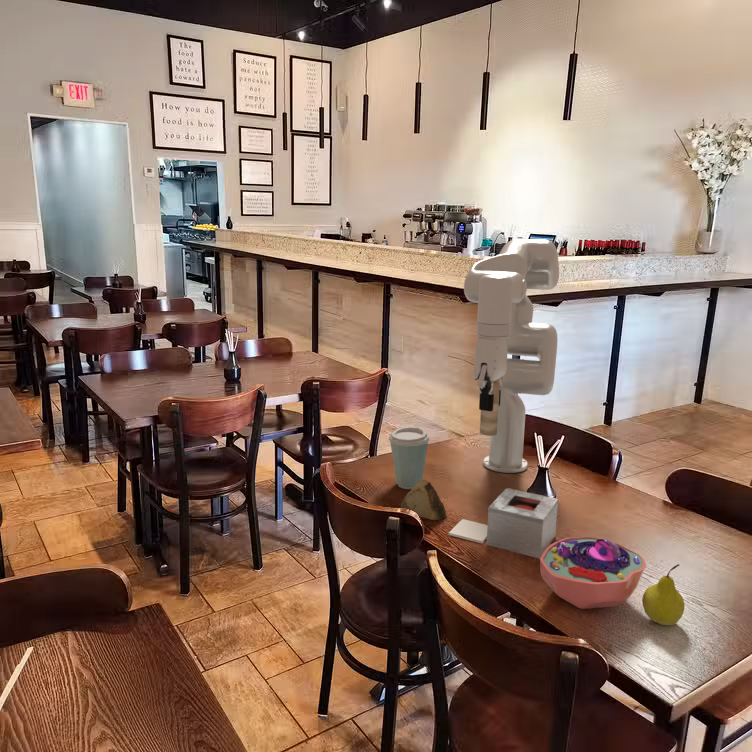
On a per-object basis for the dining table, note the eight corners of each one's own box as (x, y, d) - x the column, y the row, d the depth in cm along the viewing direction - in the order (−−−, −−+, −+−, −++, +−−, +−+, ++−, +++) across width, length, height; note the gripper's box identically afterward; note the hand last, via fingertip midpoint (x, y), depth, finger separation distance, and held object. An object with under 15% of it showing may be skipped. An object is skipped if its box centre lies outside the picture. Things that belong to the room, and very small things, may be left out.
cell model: (518, 585, 129) (521, 532, 127) (601, 567, 136) (606, 517, 134) (571, 635, 114) (577, 576, 111) (662, 612, 121) (669, 556, 118)
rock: (388, 502, 161) (410, 513, 152) (404, 471, 162) (427, 480, 154) (418, 520, 166) (442, 531, 157) (434, 490, 167) (458, 499, 159)
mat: (462, 521, 156) (462, 519, 156) (494, 529, 152) (494, 526, 152) (448, 535, 149) (448, 532, 149) (482, 543, 146) (482, 541, 145)
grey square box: (504, 523, 155) (506, 487, 153) (555, 535, 150) (558, 498, 147) (486, 544, 145) (488, 507, 143) (540, 558, 139) (543, 519, 137)
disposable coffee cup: (413, 496, 170) (414, 441, 166) (380, 485, 176) (380, 432, 173) (435, 483, 178) (437, 430, 175) (402, 474, 184) (403, 422, 181)
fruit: (633, 621, 118) (640, 560, 115) (650, 605, 123) (657, 547, 120) (672, 638, 113) (680, 575, 111) (688, 621, 118) (696, 561, 115)
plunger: (515, 515, 149) (516, 502, 149) (536, 520, 147) (537, 507, 146) (508, 524, 145) (509, 510, 145) (530, 529, 143) (530, 515, 142)
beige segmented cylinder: (483, 429, 157) (486, 363, 153) (499, 432, 155) (503, 366, 151) (477, 433, 154) (480, 367, 150) (493, 436, 152) (497, 369, 148)
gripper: (490, 323, 158) (487, 397, 162) (463, 334, 143) (460, 414, 148) (521, 326, 154) (516, 401, 158) (496, 337, 140) (492, 419, 144)
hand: (489, 407), depth 153 cm, fingers closed on beige segmented cylinder, 4 cm apart
